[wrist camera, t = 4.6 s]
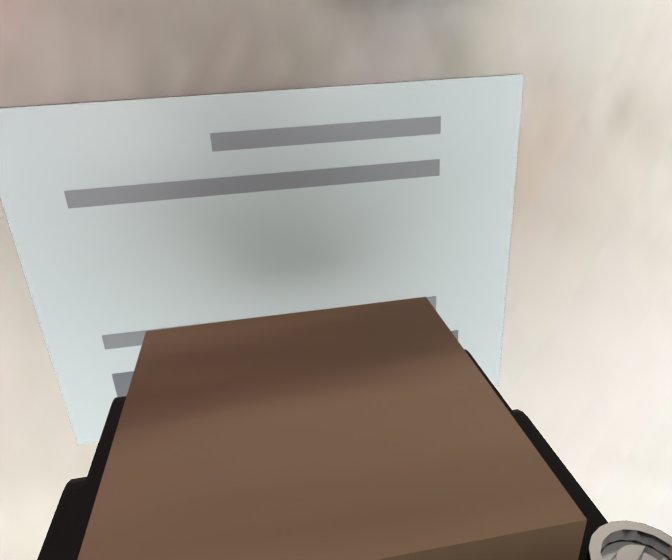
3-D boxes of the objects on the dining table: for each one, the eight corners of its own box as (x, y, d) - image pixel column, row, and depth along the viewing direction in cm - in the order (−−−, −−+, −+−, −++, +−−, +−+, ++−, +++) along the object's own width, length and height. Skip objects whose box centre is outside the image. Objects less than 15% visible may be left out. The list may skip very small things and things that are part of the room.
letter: (-24, 110, 16) (-28, 110, 16) (521, 74, 19) (524, 74, 18) (78, 441, 22) (77, 445, 21) (496, 382, 24) (498, 385, 24)
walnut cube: (145, 331, 9) (59, 619, 5) (426, 296, 10) (587, 519, 5) (193, 533, 11) (164, 863, 7) (419, 493, 12) (530, 770, 7)
